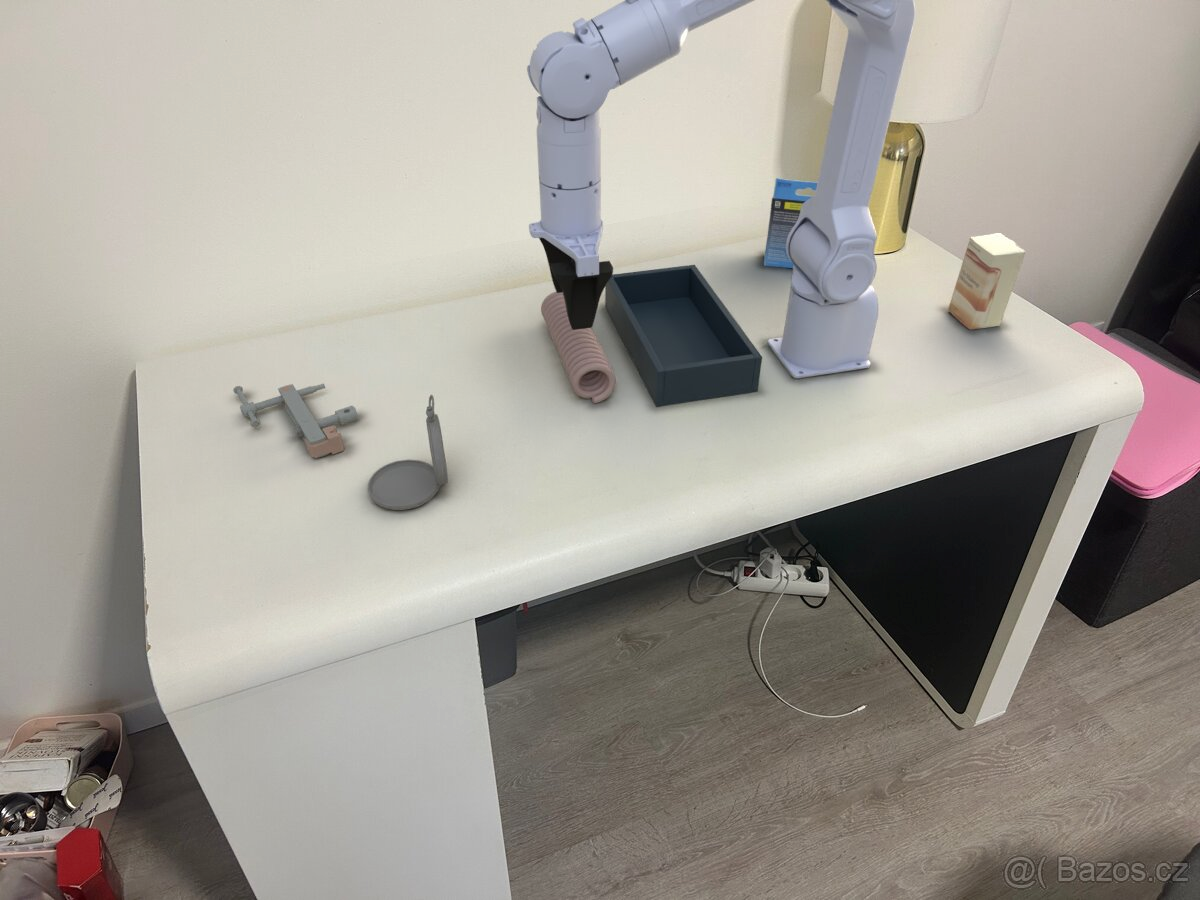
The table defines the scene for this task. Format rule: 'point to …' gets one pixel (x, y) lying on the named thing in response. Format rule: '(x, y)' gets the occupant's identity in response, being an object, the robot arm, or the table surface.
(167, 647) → the table surface
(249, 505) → the table surface
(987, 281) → the printed cream carton
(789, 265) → the label tape box
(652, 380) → the bin
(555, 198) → the robot arm
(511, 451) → the table surface
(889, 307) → the table surface
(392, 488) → the pocket watch
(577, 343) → the coil
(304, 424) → the clamp
